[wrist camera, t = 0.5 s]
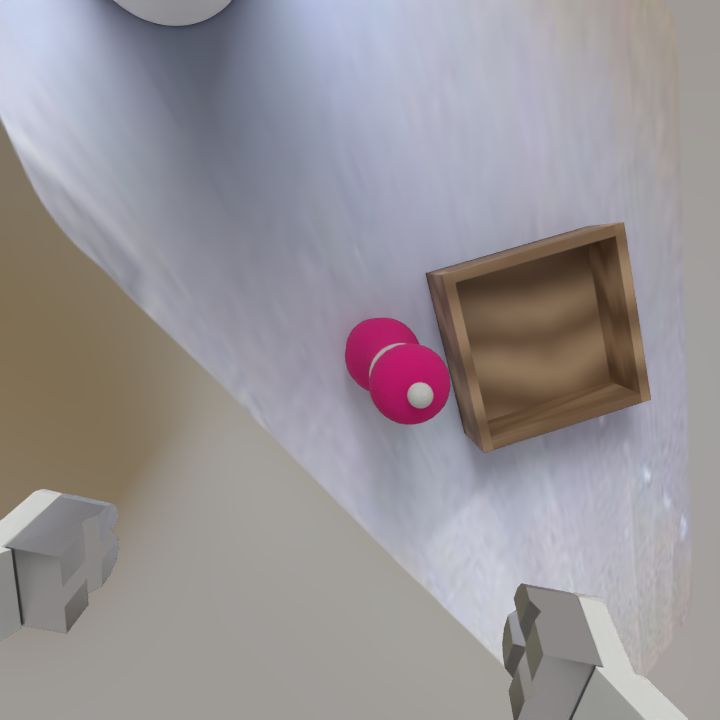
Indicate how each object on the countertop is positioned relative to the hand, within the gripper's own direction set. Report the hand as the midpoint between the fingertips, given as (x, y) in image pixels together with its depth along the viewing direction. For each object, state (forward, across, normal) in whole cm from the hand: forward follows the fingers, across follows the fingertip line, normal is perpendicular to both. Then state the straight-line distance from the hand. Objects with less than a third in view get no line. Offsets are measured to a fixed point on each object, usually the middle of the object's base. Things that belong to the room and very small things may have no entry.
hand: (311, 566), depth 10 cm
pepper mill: (+43, 0, +11) cm, 44 cm away
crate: (+46, -15, +8) cm, 49 cm away
